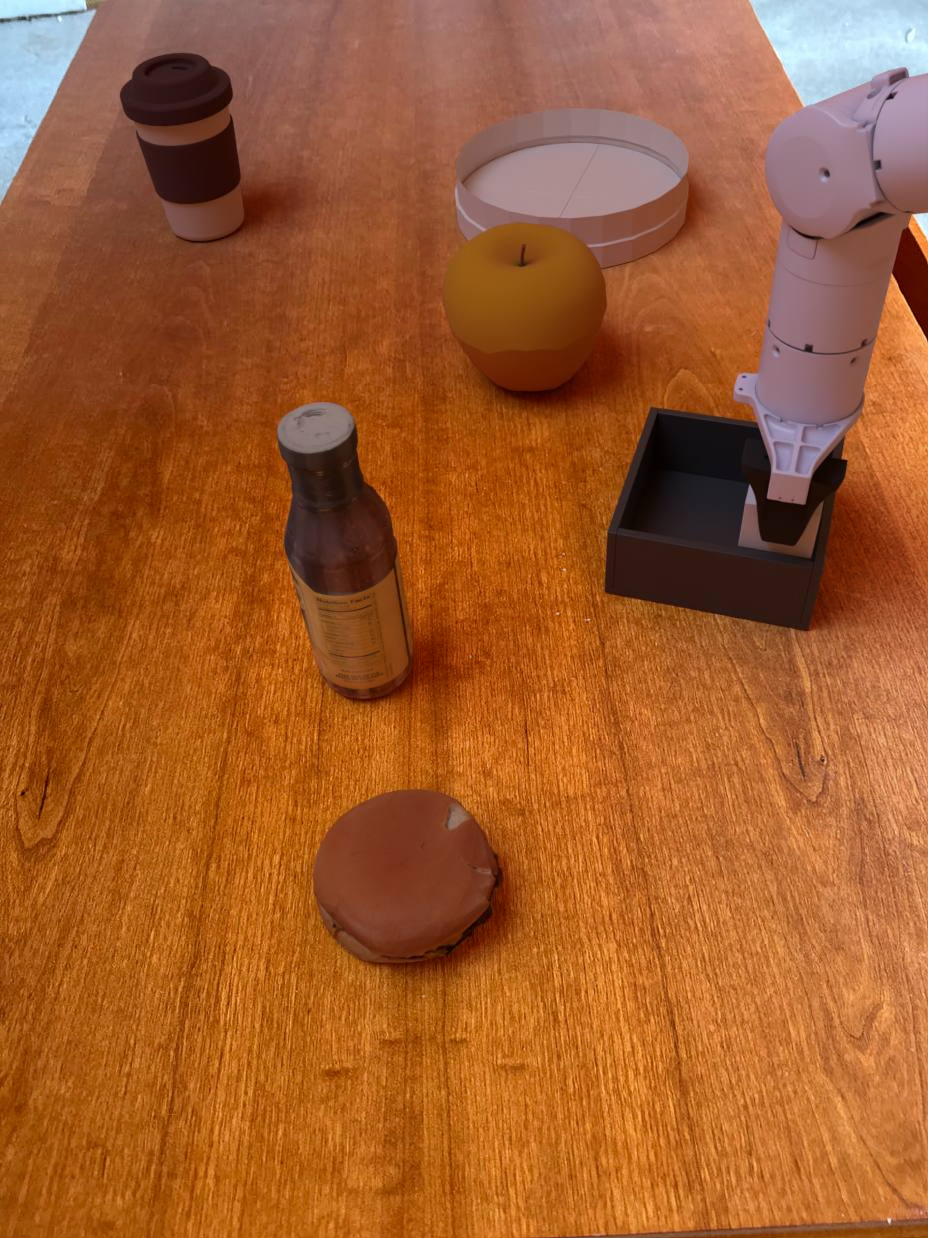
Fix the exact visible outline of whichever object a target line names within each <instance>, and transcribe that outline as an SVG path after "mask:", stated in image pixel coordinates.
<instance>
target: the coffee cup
mask: <svg viewBox="0 0 928 1238" xmlns="http://www.w3.org/2000/svg"><path fill="white" fill-rule="evenodd" d="M232 85H233V84H232V80H231V77H230V75H229V74H228V72H226V71H225V70H223V69H222V68H220V67H218V66H215V65H212V64H211V63H210V62H209V60H208V59H207V58H206V57H204V56H202V55H200V54H198V53H197V54H196V53H191V52H171V53H165V54H161V55H160V54H159V55H157V56H154V57H150V58H148V59H145V60H144V61H142V62H140V63H139V64H138V65H137V66H136V67H135V68H134V69H133V71H132V74H131V79H129V80H128V81H127V82H125V83H124V85H123V86H122V87H121V88H120V91H119V100H120V103H121V107H122V111H123V113H124V114H125V116H126V117H127V118H128V119H129V120H131V121H133V122H134V126H135V128H136V130H135V134H136V135H135V136H136V139H137V141H138V145H139V148H140V150H141V154H142V156H143V160H144V162H145V164H146V169H147V170H148V173H149V176H150V179H151V182H152V185H153V187H154V191H155V193H156V195H157V196H159V199H160V202H161V204H162V207H163V210H164V213H165V215H166V217H167V222H168V224H169V227H170V229H171V231H172V232H173V234H174V235H175V236H177V237H179V238H181V239H183V240H187V241H192V242H208V241H214V240H218V239H221V238H224V237H226V236H228V235H231V234H233V233H234V232H235V231H237V230H238V229H239V228H240V227H241V226H242V224H243V222H244V219H245V210H244V204H243V203H244V201H243V198H242V197H243V195H242V189H241V179H242V175H241V174H242V172H241V167H240V166H241V165H240V159H239V153H238V152H239V151H238V145H237V139H236V138H237V137H236V131H235V123H234V119H233V115H232V114H231V113H230V107H229V105H230V103H231V102H232V100H233V98H234V91H233V87H232Z"/></svg>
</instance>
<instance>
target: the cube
mask: <svg viewBox="0 0 928 1238" xmlns="http://www.w3.org/2000/svg"><path fill="white" fill-rule="evenodd" d="M823 501H824V500H823ZM822 506H823V502H822V503H821V504H820V505H819V506H818V507H817V509H816V510H815V512H814V513H813V515H812V517H811V519H810V521H809V523H808V525H807V527H806V529H805V531H804V533H803V534H802V536H801V538H800V539H799V541H798V542H797V544H796V545H795V546H788V545H782V544H776V543H771V542H765V541H762V540H761V537H760V533H759V526H758V516H757V505H756V499H755V495H754V493H753V490H752V488H751V486H750V485H749V489H748V493H747V497H746V501H745V507H744V513H743V519H742V525H741V531H740V537H739V543H738V546H741V547H747V548H753V549H758V550H764V551H770V552H776V553H781V554H787V555H793V556H799V557H804V558H811V556H812V552H813V548H814V543H815V539H816V535H817V530H818V526H819V522H820V517H821V512H822Z"/></svg>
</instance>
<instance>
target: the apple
mask: <svg viewBox="0 0 928 1238" xmlns="http://www.w3.org/2000/svg"><path fill="white" fill-rule="evenodd" d="M440 291H441V301H442V307H443V310H444V313H445V316H446V319H447V322H448V325H449V328H450V330H451V332H452V334H453V336H454V338H455V340H456V342H457V343H458V345H459V347H460V348H461V349H462V351H463V353H464V354H465V355H466V357H468V359H469V360H470V362H472V363H473V364H474V365H475V367H476V368H477V369H478V371H480V373H481V374H482V375H484V376H485V377H486V378H488V379H489V380H490V381H491V382H493V383H494V384H496V385H497V386H498V387H502V388H503V389H505V390H508V391H511V392H542V391H549V390H550V391H551V390H556V389H557V388H559V387H560V386H562V385H564V384H565V383H567V382H568V381H570V380H572V378H573V377H574V376H575V375H576V373H577V372H579V370H580V369H581V367H582V366H583V365H584V364H585V362H586V361H587V360H588V359H589V357H590V356H591V353H592V351H593V349H594V347H595V345H596V342H597V340H598V337H599V335H600V331H601V328H602V324H603V321H604V317H605V314H606V311H607V308H608V301H607V284H606V280H605V277H604V273H603V271H602V268H601V267H600V264H599V262H598V261H597V259H596V257H595V256H594V254H593V252H592V251H591V249H590V248H589V247H588V246H587V245H586V244H585V243H584V242H583V241H581V240H580V239H579V238H577V237H576V236H574V235H573V234H572V233H570V232H569V231H566V230H563V229H559V228H556V227H553V226H547V225H539V224H530V223H522V222H516V223H510V224H504V225H498V226H494V227H492V228H490V229H488V230H486V231H484V232H482V233H480V234H478V235H477V236H475V237H474V238H473V239H471V240H470V241H467V242H465V243H463V245H462V246H461V247H460V248H459V249H458V250H457V252H455V254H454V255H453V256H452V258H451V259H450V260H449V262H448V264H447V267H446V270H445V274H444V278H443V283H442V286H441V290H440Z"/></svg>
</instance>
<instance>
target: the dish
mask: <svg viewBox="0 0 928 1238" xmlns="http://www.w3.org/2000/svg"><path fill="white" fill-rule="evenodd" d="M689 162H690V155H689V151H688V149H687V148H686V146H685V143H684V142H683V140H681V138H679V137H678V136H677V135H676V134H675V133H674V132H673V131H672V130H671V129H669V128H667V127H665V126H664V125H661V124H660V123H658V122H655V121H653V120H651V119H648V118H646V117H641V116H638V115H636V114H632V113H630V112H629V113H628V112H625V111H617V110H610V109H605V108H585V107H567V108H566V107H565V108H556V109H543V110H538V111H534V112H529V113H524V114H519V115H515V116H513V117H509V118H507V119H504V120H502V121H501V120H500V121H499V122H496V123H493V124H491V125H490V126H487V127H485V128H484V129H483V130H480V131H479V132H477V133H475V134H473V136H472V137H471V138H469V140H467V142H466V143H464V144H463V145H462V146H461V147H460V149H459V152H458V153H457V156H456V158H455V161H454V167H455V178H456V180H455V181H456V185H455V188H454V189H453V190H454V198H455V210H456V219H457V220H456V221H457V227H458V229H459V230H460V232H461V233H462V235H463V236H464V238H465V239H466V241H467V242H468V241H470V240H471V239H473V238H474V237H475V236H477V235H478V234H480V233H482V232H484V231H486V230H488V229H490V228H492V227H494V226H498V225H504V224H510V223H516V222H522V223H530V224H539V225H547V226H553V227H556V228H559V229H563V230H566V231H569V232H570V233H572V234H573V235H574V236H576V237H577V238H579V239H580V240H581V241H583V242H584V243H585V244H586V245H587V246H588V247H589V248H590V249H591V251H592V252H593V254H594V256H595V257H596V259H597V261H598V262H599V264H600V267H601V269H605V268H610V267H614V266H618V265H622V264H627V263H631V262H633V261H635V260H638V259H641V258H643V257H645V256H647V255H650V254H652V253H654V252H657V251H658V250H659V249H660V248H662V247H663V246H664V245H666V244H667V243H669V242H670V241H671V240H673V239H674V238H675V237H676V235H677V234H678V233H679V231H680V230H681V228H682V227H683V225H684V224H685V221H686V215H687V214H686V213H687V204H688V198H689V191H690V184H689V182H688V179H687V178H688V172H689V164H690V163H689Z"/></svg>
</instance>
